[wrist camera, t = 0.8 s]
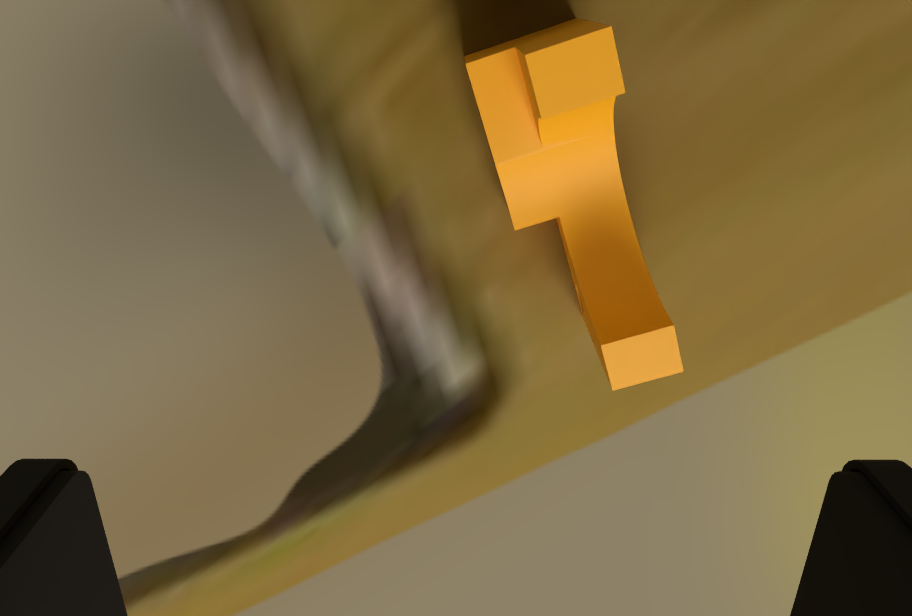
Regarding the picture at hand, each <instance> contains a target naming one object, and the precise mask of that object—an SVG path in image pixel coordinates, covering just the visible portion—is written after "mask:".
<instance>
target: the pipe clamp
mask: <svg viewBox="0 0 912 616" xmlns="http://www.w3.org/2000/svg"><path fill="white" fill-rule="evenodd" d="M464 59H465V64H466V68H467V71H468V74H469V78H470V81H471V84H472V88H473V91H474V94H475V98H476V101H477V105H478V108H479V111H480V115H481V118H482V121H483V125H484V128H485V131H486V135H487V138H488V142H489V145H490V148H491V152H492V155H493V158H494V162H495V165H496V168H497V172H498V175H499V178H500V181H501V185H502V188H503V191H504V195H505V198H506V201H507V205H508V208H509V211H510V215H511V218H512V222H513V225H514V228H515V230H518V229H522V228H525V227H528V226H531V225H535V224H538V223H541V222H545V221H548V220H551V219H554V218H556V219H557V223H558V227H559V230H560V234H561V238H562V242H563V245H564V249H565V253H566V257H567V260H568V264H569V268H570V271H571V275H572V279H573V283H574V286H575V290H576V294H577V297H578V301H579V305H580V309H581V312H582V316H583V319H584V321H585V324H586V326H587V329H588V331H589V333H590V336H591V338H592V341H593V343H594V346H595V348H596V351H597V353H598V356H599V358H600V361H601V363H602V366H603V368H604V371H605V373H606V376H607V378H608V381H609V383H610V386H611V388H612V391H613V390H617V389H621V388H624V387H628V386H632V385H636V384H639V383H643V382H647V381H650V380H654V379H658V378H662V377H665V376H669V375H673V374H676V373H680V372H683V367H682V362H681V357H680V352H679V348H678V343H677V338H676V333H675V328H674V325H673V323H672V321H671V320H670V318H669V316H668V314H667V313H666V311H665V309H664V307H663V305H662V303H661V301H660V298H659V296H658V294H657V292H656V289H655V287H654V284H653V282H652V280H651V277H650V274H649V272H648V269H647V266H646V264H645V261H644V258H643V255H642V252H641V249H640V246H639V243H638V240H637V237H636V233H635V230H634V226H633V223H632V219H631V216H630V212H629V208H628V204H627V201H626V196H625V192H624V188H623V183H622V179H621V174H620V169H619V163H618V158H617V151H616V144H615V135H614V122H613V111H614V102H615V98H616V96H617V95H620V94H623V93H625V89H624V84H623V79H622V74H621V69H620V65H619V60H618V55H617V50H616V45H615V41H614V36H613V31H612V26H609V25H604V24H600V23H595V22H590V21H586V20H581V19H576V18H575V19H572V20H569V21H566V22H563V23H561V24H558V25H555V26H552V27H549V28H546V29H543V30H540V31H537V32H534V33H531V34H528V35H525V36H522V37H519V38H516V39H513V40H510V41H508V42H505V43H502V44H499V45H496V46H493V47H490V48H487V49H484V50H481V51H478V52H475V53H472V54H469V55H466V56H464Z"/></svg>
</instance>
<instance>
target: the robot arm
mask: <svg viewBox="0 0 912 616" xmlns="http://www.w3.org/2000/svg"><path fill="white" fill-rule="evenodd" d="M0 616H127V612H126V608H125V605H124V601H123V597H122V594H121V590H120V586H119V582H118V579H117V575H116V571H115V568H114V564H113V560H112V556H111V553H110V549H109V545H108V542H107V538H106V534H105V531H104V527H103V523H102V519H101V516H100V512H99V508H98V505H97V501H96V497H95V493H94V490H93V486H92V482H91V479H90V477H89V475H88V474H87V473H86V472H85V471H78V469H77V466H76V465H75V464H74V462H72V460H68V459H21V460H17V461H15V462H14V463H13V464H12V465H10V466H9V467H8V469H7V470H6V471H5V472H4V473H3V474H2V475H1V476H0ZM790 616H912V468H911V467H909V466H908V465H907V464H906V463H904V462H902V461H899V460H852V461H848V463H846V464H845V465H844V467H843V469H842V471H839V472H835V473H834V474H833V475H832V476H831V478H830V480H829V483H828V487H827V490H826V494H825V497H824V501H823V504H822V508H821V511H820V515H819V518H818V522H817V525H816V528H815V532H814V535H813V539H812V542H811V546H810V549H809V553H808V556H807V560H806V563H805V566H804V570H803V573H802V577H801V580H800V584H799V587H798V591H797V594H796V598H795V601H794V604H793V608H792V611H791V615H790Z"/></svg>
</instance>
